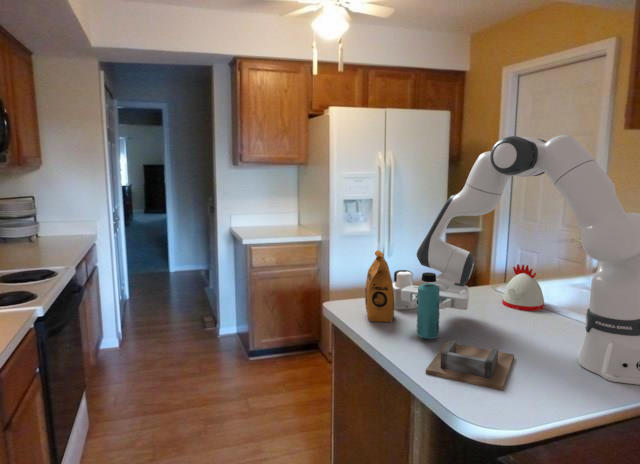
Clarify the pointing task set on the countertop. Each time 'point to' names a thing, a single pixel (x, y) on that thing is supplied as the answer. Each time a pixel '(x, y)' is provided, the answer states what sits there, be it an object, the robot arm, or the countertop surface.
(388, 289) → the coffee package
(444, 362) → the bottle dock
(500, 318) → the countertop surface
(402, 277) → the container
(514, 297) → the kitchen timer
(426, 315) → the beverage bottle
